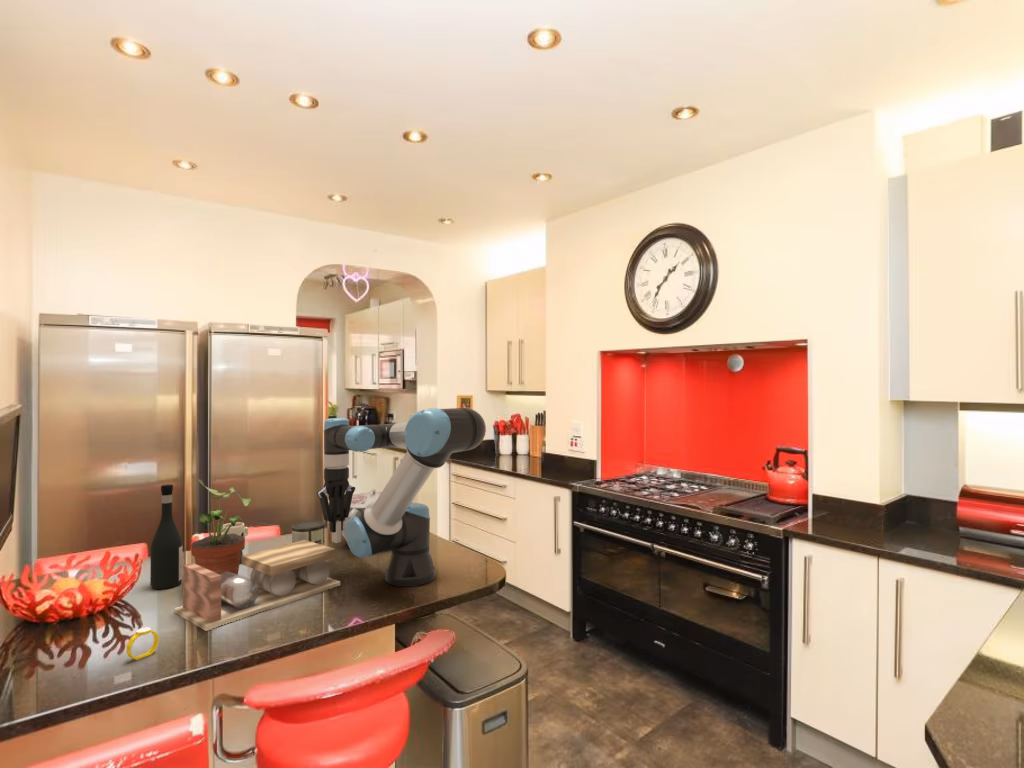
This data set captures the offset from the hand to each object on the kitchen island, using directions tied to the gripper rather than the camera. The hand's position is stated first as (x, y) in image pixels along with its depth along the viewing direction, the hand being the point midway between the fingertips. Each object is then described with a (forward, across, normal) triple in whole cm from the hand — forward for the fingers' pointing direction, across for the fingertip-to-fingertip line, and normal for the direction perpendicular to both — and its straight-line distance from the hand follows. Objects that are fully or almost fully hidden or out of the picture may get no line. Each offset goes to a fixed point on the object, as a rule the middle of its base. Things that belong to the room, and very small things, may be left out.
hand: (336, 541), depth 171 cm
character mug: (+11, +14, -38) cm, 42 cm away
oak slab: (+2, +16, 0) cm, 16 cm away
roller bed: (+10, +24, 0) cm, 26 cm away
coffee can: (+11, +1, -14) cm, 18 cm away
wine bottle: (+11, +36, -33) cm, 50 cm away
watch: (+11, +57, +11) cm, 59 cm away
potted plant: (+11, +26, -20) cm, 34 cm away
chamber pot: (+11, -29, -19) cm, 36 cm away
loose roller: (+9, +32, 0) cm, 33 cm away
